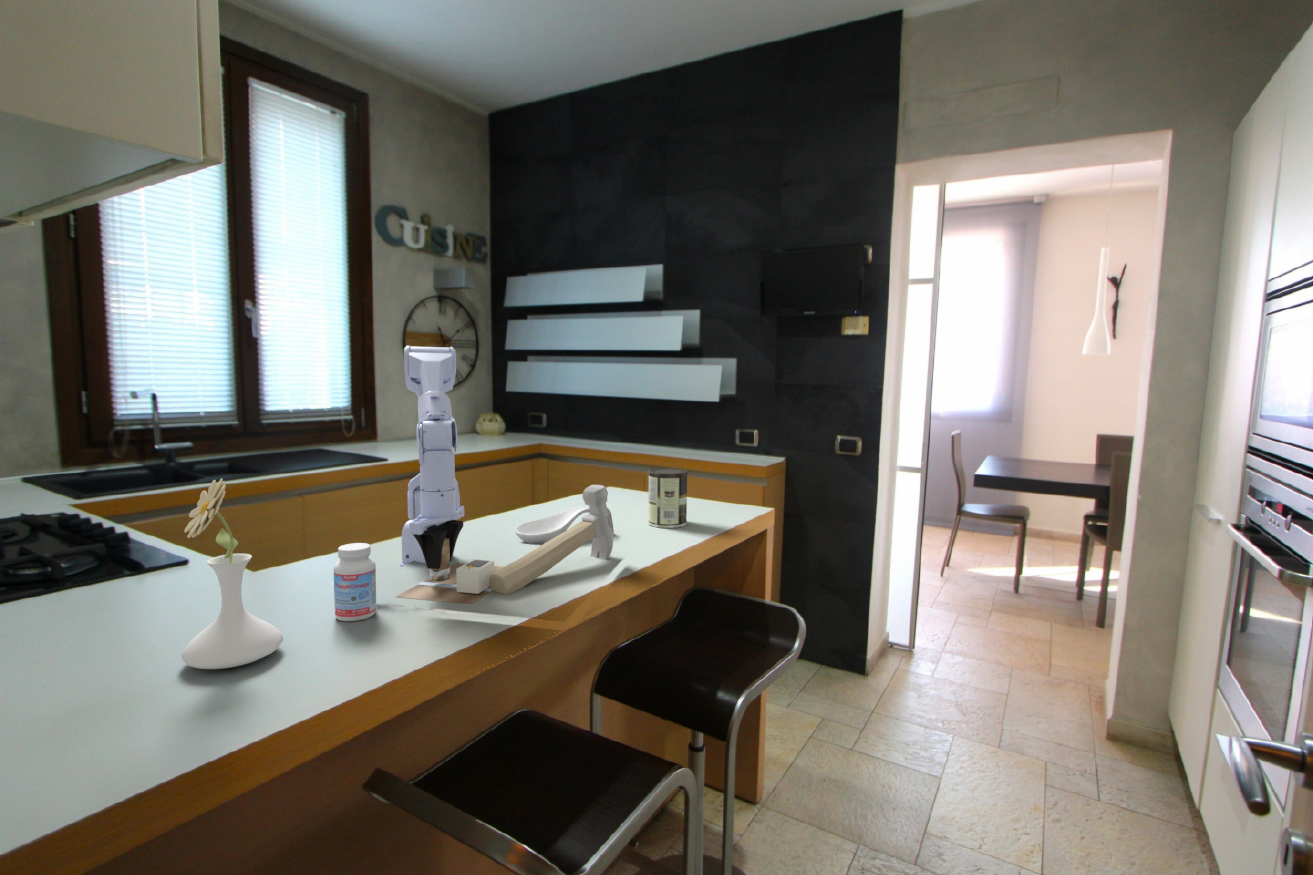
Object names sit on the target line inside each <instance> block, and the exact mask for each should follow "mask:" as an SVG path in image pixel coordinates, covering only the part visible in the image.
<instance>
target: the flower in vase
mask: <svg viewBox="0 0 1313 875" xmlns="http://www.w3.org/2000/svg"><path fill="white" fill-rule="evenodd" d="M226 486H227V485H226V481H225V480H223V478H220V479H219V481H218V482H217V481H216V479H214V480H212V481H211V484H210V485H209V486H208V489H207V491H206V490H202V491H201V493H200V495H199V500H198V501H197V503H196V506H197V507H195V508H193V509H191V511H190V512H189V514H188V517H189V518H193V519H191V520H190V521H189V522H188V524H187V526H186V527H185V528H184V531H183V532H184V533H188V532H189V533H188V534H187V536H186V538H187V539H190V538H195V537H197V536H199V535H200V534H202V532H203V531H205V530H206V528H208V525H210V523H211V522H212V520H213V519H214V517H215V515H216V516H217V517H218V519H219V520H220V522H222V524H223V526H224V527H225V529H226V530H225V529H224V528H221V529H220V530H219V532H218V533H217V535H216V537H215V543H216V544H217V545H219V546H221V547H222V548H223V549H225V550H227V551H226V553H225V554H221V555H218V556H214V557H211V558H210V559H207V560H206V564H207V565H208V566H209V567H211V569H212V570H213V571H214V574H215V575H216V576H217V579H218V583H219V587H220V594H221V608H220V612H219V613H218V616H216V618H215V619H214V620H213V621H212V622H211V623H210V624H208V625H207V626H206V627H205V628H203V629H202V630H201V631H200V632H199V633H198V634H196V635H195V637H193V638H192V639H191V640H190V641H189V642H188V644H187V645H186V646H185V647H184V649H183V650H182V654H181V660H182V661H183V662H184V663H185V664H186V665H187V666H188V667H191V668H195V669H201V670H222V669H230V668H235V667H240V666H244V665H248V664H251V663H253V662H256V661H258V660H260V659H263V658H264V657H267V656H269V655H270V654H273V653H274V652H275V651H277V650H278V648H280V646H281V644H282V642H283V641H284V636H283V634H282V632H281V631H280V629H278V628H277V627H276V626H274V625H272V624H271V623H269V622H267V621H265V620H263V619H261V618H258V617H256V616H255V615H252V614H251V613H249V612H248V611H246V609H245V607H244V605H243V598H242V587H243V586H242V583H243V576H244V572H245V569H246V567H247V566H248V563H249V562H250V561H251V559H252V558H253V556H252V554H249V553H234V550H235V549H236V548H237V546H238V545H239V541H237V539H236V538H234V537H233V533H232V530H231V528H230V526H229V524H228V523H227V521H226V520H225V518H224V516H222V514H221V512H220V511H219V509H220V506H221V505H222V503H223V499H224V497H225V495H226Z"/></svg>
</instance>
